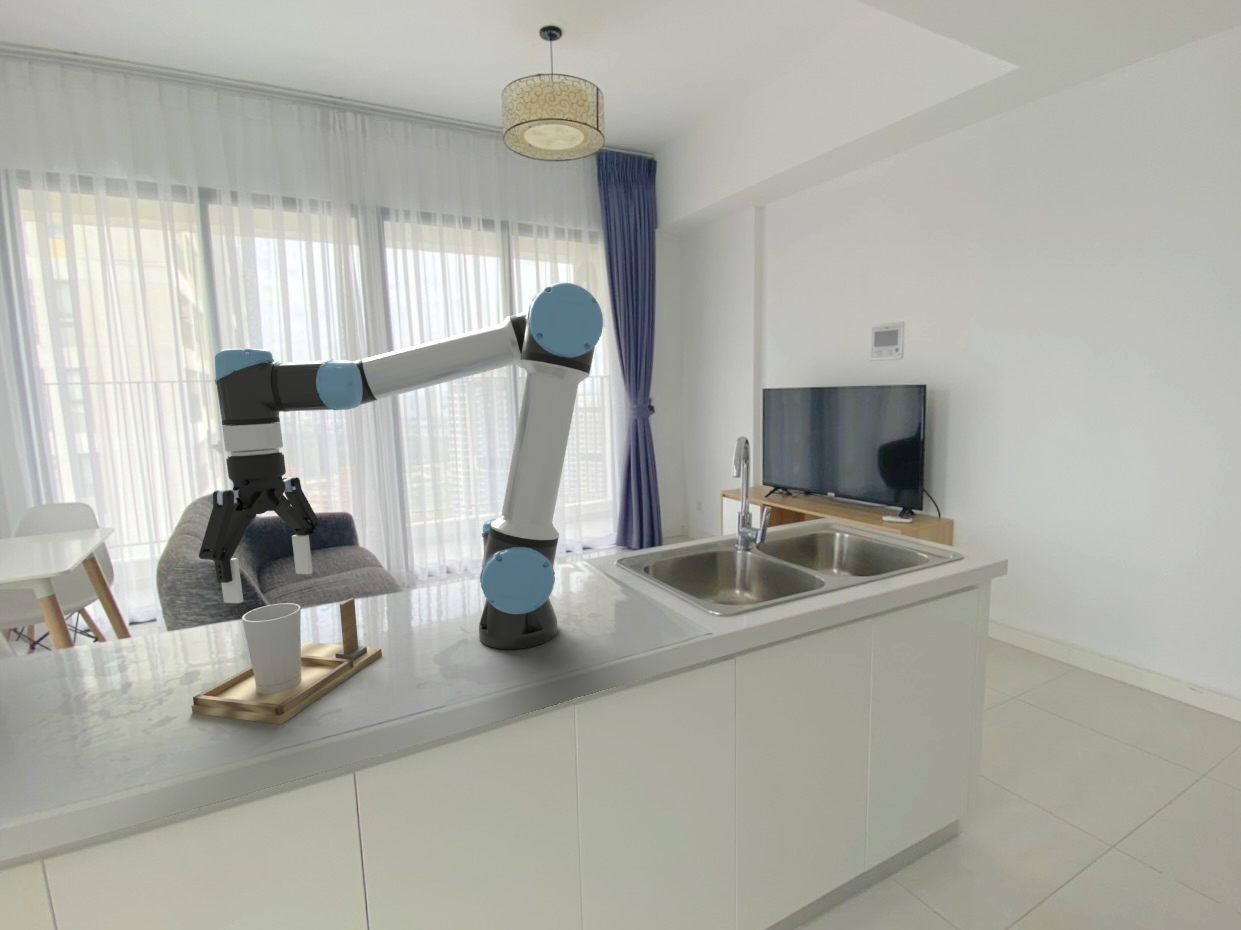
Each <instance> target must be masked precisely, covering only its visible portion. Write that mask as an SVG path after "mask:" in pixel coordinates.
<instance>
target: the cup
mask: <svg viewBox="0 0 1241 930" xmlns="http://www.w3.org/2000/svg"><path fill="white" fill-rule="evenodd" d="M301 610H302V608H301V606H300V604H297V603H294V602H293V603H292V602H291V603H290V602H286V603H285V602H284V603H281V602H280V603H275V604H268V605H264V606H261V607H257V608H254V609H251V610H250V611H247V612H246V613H245V614H243V615H242V616H241V620H242V625H243V629H244V633H245V638H246V643H247V648H248V652H249V657H250V659H249V660H250V662H251V666H252V668H253V673H254V678H255V684H256V691H257V692H258V693H261V694H273V693H279V692H283V691H286V690H288V689H291V688H293V687H295V686H296V685H298V684H299V683H300V682H301V680H302V678H301V645H302V644H301V641H302V640H301V638H302V637H301V635H302V634H301V625H302V623H301V621H302V620H301V618H302V617H301V612H302V611H301Z"/></svg>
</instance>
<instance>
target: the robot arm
mask: <svg viewBox="0 0 1241 930" xmlns="http://www.w3.org/2000/svg"><path fill="white" fill-rule="evenodd" d="M603 318H604V316H603V311H602V309H601V306H600V304H599V302H598V301H597V299H596V298H595V297H594V295H593V294H592V293H591V292H589V290H588V289H586V288H584V287H583V286H581V285H578V284H575V283H571V282H559V283H553V284H550V285H548V286H546V287H544V288H542V289H541V290H540V291H539V292H538V293H536V295H535V296H534V297H533V299H532V300H531V302H530V304H529V308H528V309H526V310H524V311H521V312H519V313H516V314H515V313H514V314H512V315H508V316H506V318H505V319H504V321H503V322H502V323H500V324H497V325H493V326H492V325H491V326H488V327H485V328H480V329H477V330H473V331H468V332H465V333H460V334H457V335H452V336H450V337H449V336H448V337H445V338H441V339H437V340H433V341H427V342H426V343H425V342H424V343H422V344H417V345H413V346H409V347H405V348H401V349H398V350H397V349H396V350H394V351H389V352H386V353H382V354H381V353H380V354H378V355H373V356H370V357H365V358H363V359H357V360H354V361H353V360H352V361H351V360H338V359H337V360H336V359H327V360H315V361H314V360H313V361H312V360H311V361H291V362H290V361H289V362H283V361H281V362H280V361H275V359H274V357H273V353H272V352H271V351H269V350H267V349H261V348H226V349H221V350H219V351H217V353H216V354H215V355H214V372H215V373H214V375H215V379H214V383H215V385H216V391H217V396H218V397H217V399H218V405H219V409H220V417H221V428H222V437H223V443H224V451H225V452H227V453H230V455H228V456H227V458H226V459H225V460H226V467H227V468H226V469H227V475H228V479H229V480H230V481H232V483H233V487H232V489H231V490H230V489H228V490H227V489H226V490H225V489H222V490H221V489H220V490H219V489H218V490H215V491H213V492H212V509H211V512H210V516H209V519H208V523H207V526H206V530H205V533H204V536H203V539H202V543H201V545H200V550H199V553H198V558H199V559H201V560H209V561H213V562H214V568H215V575H216V581H217V582H218V583H220V584H221V590H222V598H223V603H224V604H225V603H226V604H241V603H243V602H244V595H243V587H242V578H241V572H240V565H239V558H238V557H237V558H235V557H233V556H234V555H235V552H236V550H237V548H239V544H240V542H241V541H242V539H243V536H244V534H245V533H246V531H247V529H248V526H249V525H250V522H251V521H252V520H253V519H255V518H256V516H257V515H261V514H264V513H266V512H274V513H275V514H276V515H277V516H278V517H279V518H280V519H281V520H282V521H283V522H284V523H285V524H286V525H287V526H288V527H289V528H290V529H291V530H292V532H294V533H295V534H294V535H291V543H292V550H293V559H294V561H293V562H294V568H295V569H294V570H295V574H296V575H311V574H313V570H314V569H313V563H312V551H313V546H312V545H313V544H312V536H311V535H315V534H316V533H317V528H319V527H320V520H319V519H318V517H317V515H316V513H315V512H314V509H313V508H312V506H311V504H310V502H309V501H308V499H307V496H306V495H305V494H304V491H303V489H302V485H301V480H300V478H299V477H292V476H291V477H283V476H284V475H285V474H286V473H287V469H286V463H285V462H286V461H285V454H284V453H283V452H282V451H280V450H281V449H282V448H283V447H284V443H283V436H282V435H283V434H282V427H281V419H280V412H283V413H286V412H301V411H303V412H305V411H312V412H313V411H329V410H330V411H331V410H332V411H342V410H343V411H344V410H351V409H355V408H358V407H360V405H365V404H368V403H372V402H375V401H379V400H383V399H387V398H391V397H395V396H398V395H401V394H407V393H409V392H413V391H416V390H421V389H425V388H429V387H432V386H436V385H440V384H444V383H448V382H452V381H454V380H459V379H462V378H467V377H471V376H474V375H478V374H482V373H486V372H489V371H493V370H498V369H500V368H504V367H508V366H509V367H510V366H512V365H515V366H517V367H519V368H521V369H523V370H525V372H526V379H525V383H524V384H525V386H524V389H523V395H522V400H521V407H520V412H519V418H518V423H517V428H516V434H515V440H514V444H513V450H512V455H511V462H510V467H509V472H508V473H509V474H508V476H507V477H508V478H507V483H506V489H505V494H504V499H503V505H502V510H501V515H500V516H498V517H497V518H494V519H493V518H492V519H488V520H486V521H485V522H484V523H483V525H482V533H481V537H482V539H483V541H482V542H483V560H482V561H483V562H482V568H481V572H480V577H479V583H480V586H481V590H482V592H483V595H484V598H485V602H484V606H483V609H482V613H481V616H480V621H479V624H478V637H479V641H480V642H481V643H482V644H483V645H485V646H488V647H490V648H494V649H501V650H518V649H519V650H520V649H527V648H531V647H535V646H539V645H542V644H545V643H546V642H549V641H550V640H551V639H553V638H554V637H555V636H557V633H558V630H559V629H558V619H557V618H558V617H557V615H556V613H555V610H554V607H553V605H552V603H551V600H550V599H551V598H550V596H551V595H552V592H553V589H554V585H555V581H556V577H555V574H556V572H555V568H554V564H555V559H556V554H557V553H556V552H557V549H558V548H557V547H558V543H559V538H560V533H559V532H558V530H557V529H556V527H555V526H554V524H553V521H554V514H555V509H556V504H557V500H558V494H559V488H560V484H561V480H562V479H561V478H562V473H563V468H564V463H565V459H566V458H565V457H566V453H567V446H568V441H569V436H570V431H571V425H572V419H573V413H574V410H575V409H574V408H575V404H576V399H577V394H578V388H579V385H580V383H582V382H583V381H584V380H586V379H587V378H588V377H590V373H591V368H592V364H593V357H594V352H595V347H596V345H597V344H598V342H599V341H600V338H601V337H602V333H603V327H604V319H603Z"/></svg>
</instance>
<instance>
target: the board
mask: <svg viewBox="0 0 1241 930" xmlns="http://www.w3.org/2000/svg"><path fill="white" fill-rule="evenodd" d="M355 601H356V600H355V598H353V597H351V598H349V599H347V600H344V601H343V602H341V603H339V612H340V613H339V614H340V624H341V635H342V636H341V638H342V644H336V643H335V644H332V643H320V642H309V641H307V642H305V643H303V644H301V678H302V680H301V682H300V683H299V684H298V685H296V686H295V687H293V688H291V689H288V690H286V691H283V692H279V693H273V694H261V693H258V692H257V691H256V684H255V678H254V673H253V668H252V665H251V666H249V667H247V668H245V669H243V670H241V671H239V672H238V673H236V674H234V675H232V676H230V677H228V678H225V679H224V680H223V681H221V682H219V683H217V684H215V685H212V686H211V687H209V688H207V689H206V690H204V691H202V692H201V693H198V694H197V695H194V696H193V697H192V703H193V704H192V705H191V712H192V714H196V715H198V714H199V715H205V716H213V717H220V718H228V719H235V720H236V719H237V720H245V721H252V722H258V723H268V724H275V725H282V724H284V723H286V721H288V720H289V719H291V718H292V717H294V716H296V715H297V714H298V713H300V712H301V711H303V710H304V709H305V708H307V707H308V706H310V705H312V704H313V703H315V701H317V700H318V699H320V698H321V697H323V696H325V695H326V694H328V693H329V692H330V691H332V690H333V689H335V688H337V687H338V686H339V685H340V684H342V683H344V682H345V681H346V680H347V679H349V678H350V677H352V676H353V675H355V674H356V673H358V672H359V671H360V670H362V669H364V668H365V667H367V666H368V665H369V664H371V663H372V662H374V661H375V660H377V659H378V658H380V657H381V656H382V655H383V653H382V648H379V647H369V646H368V647H367V645H366V646H364V645H359V639H358V627H357V615H356V603H355Z"/></svg>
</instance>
